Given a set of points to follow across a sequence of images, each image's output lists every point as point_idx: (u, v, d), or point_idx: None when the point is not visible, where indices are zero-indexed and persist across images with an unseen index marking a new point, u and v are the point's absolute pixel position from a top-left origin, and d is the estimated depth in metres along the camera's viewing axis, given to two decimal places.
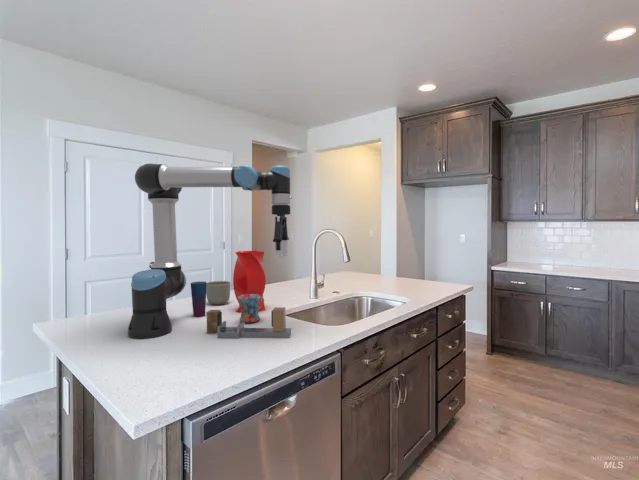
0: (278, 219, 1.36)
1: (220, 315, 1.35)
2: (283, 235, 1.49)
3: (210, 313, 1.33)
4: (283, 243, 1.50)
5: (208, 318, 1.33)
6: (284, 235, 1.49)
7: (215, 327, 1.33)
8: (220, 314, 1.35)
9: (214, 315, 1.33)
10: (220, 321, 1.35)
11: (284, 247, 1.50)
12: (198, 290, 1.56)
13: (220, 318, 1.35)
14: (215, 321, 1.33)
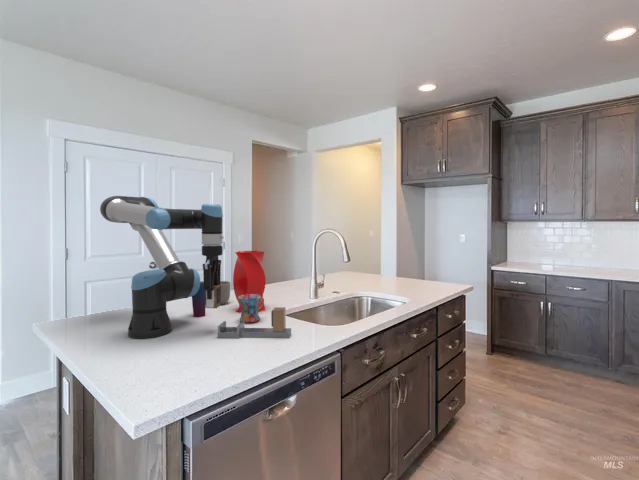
0: (206, 267, 1.28)
1: (219, 290, 1.35)
2: (214, 280, 1.37)
3: None
4: None
5: None
6: (215, 280, 1.37)
7: (214, 302, 1.33)
8: (219, 289, 1.35)
9: None
10: (219, 296, 1.35)
11: None
12: (198, 290, 1.56)
13: (219, 293, 1.35)
14: (214, 296, 1.33)
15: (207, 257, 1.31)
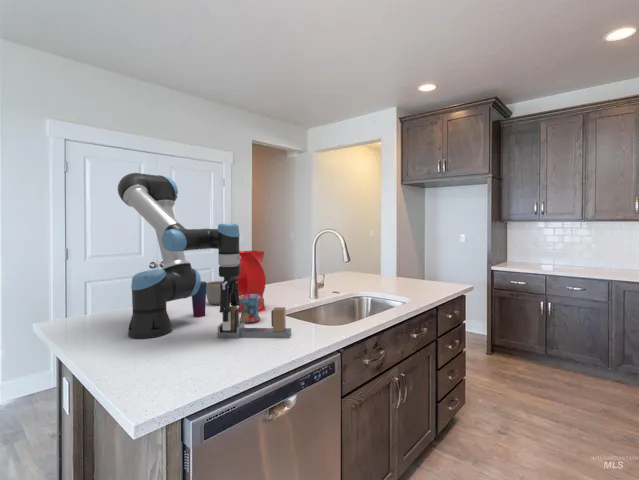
0: (224, 287, 1.24)
1: (237, 313, 1.31)
2: (233, 299, 1.34)
3: None
4: None
5: None
6: (234, 299, 1.34)
7: (232, 325, 1.29)
8: (237, 312, 1.31)
9: (231, 312, 1.29)
10: (237, 319, 1.31)
11: None
12: (198, 290, 1.56)
13: (237, 316, 1.31)
14: (232, 319, 1.29)
15: (225, 278, 1.27)
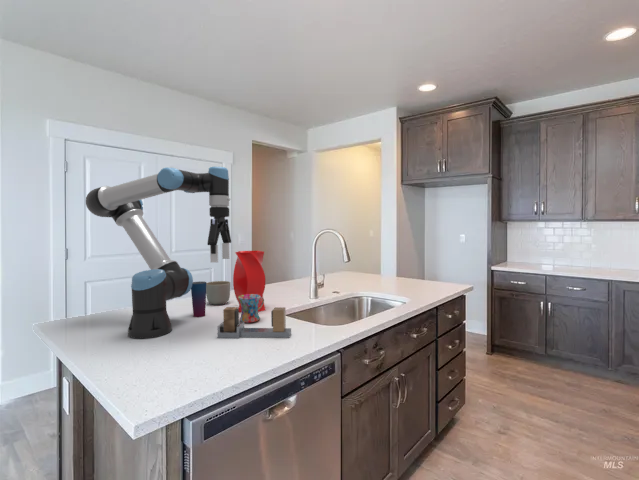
0: (213, 222, 1.33)
1: (237, 313, 1.31)
2: (224, 238, 1.45)
3: (227, 310, 1.29)
4: (225, 246, 1.46)
5: (225, 316, 1.29)
6: (225, 238, 1.45)
7: (232, 325, 1.29)
8: (237, 312, 1.31)
9: (231, 312, 1.29)
10: (237, 319, 1.31)
11: (226, 250, 1.46)
12: (198, 290, 1.56)
13: (237, 316, 1.31)
14: (232, 319, 1.29)
15: None
